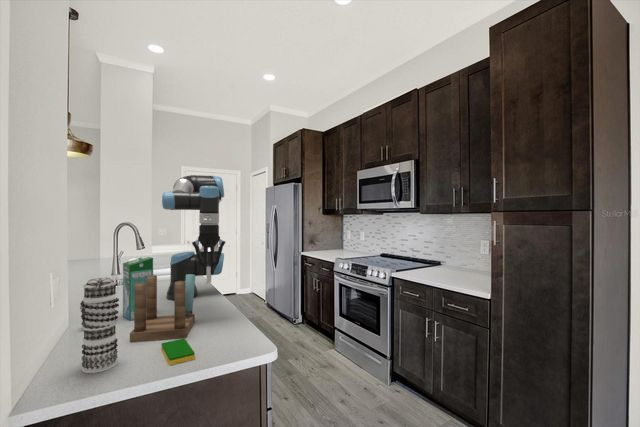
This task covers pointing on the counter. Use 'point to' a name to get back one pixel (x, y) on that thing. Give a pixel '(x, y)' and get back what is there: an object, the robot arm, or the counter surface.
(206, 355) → the counter surface
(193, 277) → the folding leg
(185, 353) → the dish sponge
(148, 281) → the walnut stool
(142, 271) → the milk carton
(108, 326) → the decorative candle
